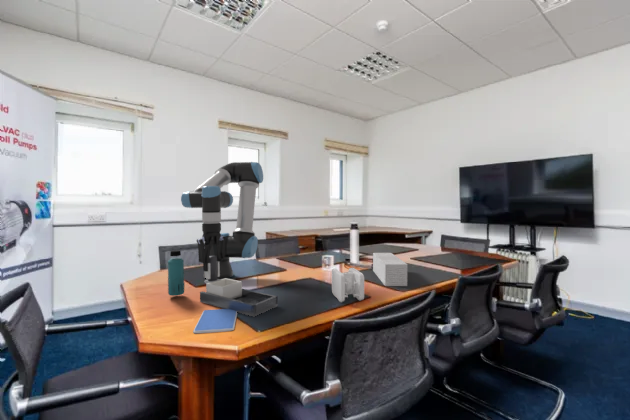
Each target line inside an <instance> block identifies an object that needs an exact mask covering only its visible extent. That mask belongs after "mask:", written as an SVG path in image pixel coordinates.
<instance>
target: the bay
mask: <svg viewBox="0 0 630 420" xmlns="http://www.w3.org/2000/svg"><path fill="white" fill-rule="evenodd" d="M278 299H279V298H278V295H275V294H269V293H264V292H260V291H255V290H251V289H246V288H243V287H242V296H240V297H237V298H234V299H230V298H226V297H222V296H219V295H215V294H211V293H207V292H206V291H200V292H199V302H200V303H202V304H203V303H204V304H206V305H210V306H214V307H217V308H219V309H220V308H221V309H231V310H235V311H237V312H238V313H237V314H241V313H242V315H244V314H245V315H244V316H248V315H249V316H248V317H251V316H253V317H252V318H255V316H256V317H257V315H258V316H260V315H261V313H262V314H264V313H266V311H267V312H269V311H271V310H273V309H275V308H277V307H278ZM272 308H273V309H272ZM270 309H271V310H270ZM268 310H269V311H268ZM259 314H260V315H259Z"/></svg>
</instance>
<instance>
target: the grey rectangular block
mask: <svg viewBox="0 0 630 420" xmlns="http://www.w3.org/2000/svg"><path fill="white" fill-rule="evenodd" d="M408 266H409V264H408V263H406V262H405V261H404V260H402V259H400V257H399V256H397V255H395V254H393V253H392V252H373V253H372V272H373V273H374V274H375V275H376V276H377V278H378V279H379V280H380V281H381V283H382V284H383V285H384V286H385V287H408Z"/></svg>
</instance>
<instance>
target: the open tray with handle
mask: <svg viewBox="0 0 630 420" xmlns="http://www.w3.org/2000/svg"><path fill="white" fill-rule="evenodd" d="M209 263H210V279H205V280H204V281H203V282H204V284H206V285H205V292H207V293H211V294H215V295H219V296H222V297H226V298H230V299H234V298H237V297H240V296H242V288H243V281H242V280H241V281H240V280H236V279H232V278H224V279H217V256H210V257H209Z"/></svg>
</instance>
